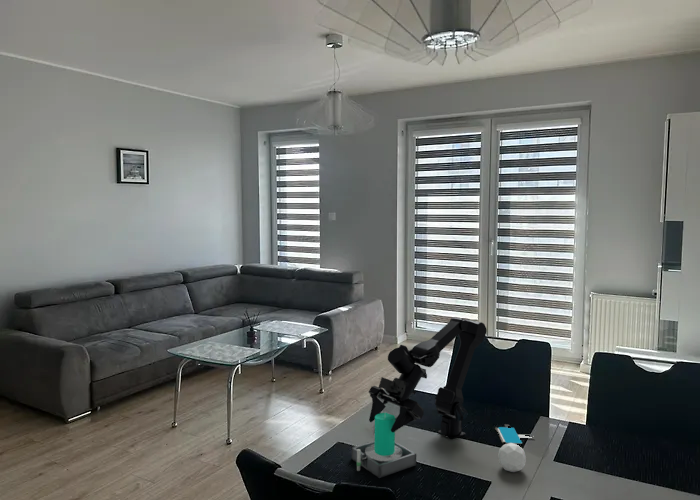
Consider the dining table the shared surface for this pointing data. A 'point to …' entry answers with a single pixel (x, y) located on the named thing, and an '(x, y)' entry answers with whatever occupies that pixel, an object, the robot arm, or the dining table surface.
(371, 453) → the scale pan
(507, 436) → the phone stand
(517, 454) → the geometric ball
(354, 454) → the scale housing
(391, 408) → the skincare box
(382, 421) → the candle
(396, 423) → the robot arm
